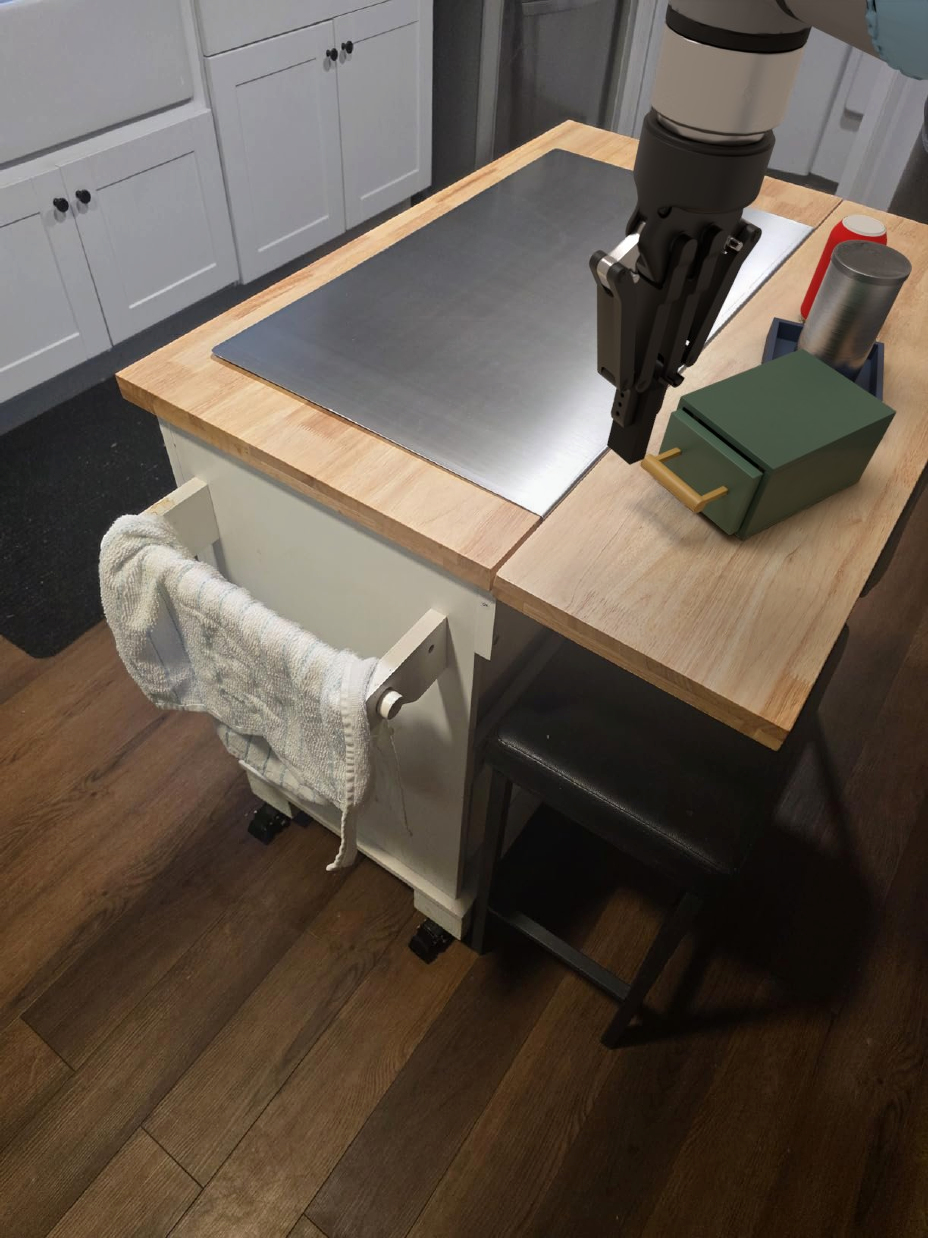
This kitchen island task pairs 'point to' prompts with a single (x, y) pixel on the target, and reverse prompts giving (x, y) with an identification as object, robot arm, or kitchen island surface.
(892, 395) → the kitchen island surface
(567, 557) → the kitchen island surface
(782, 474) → the cabinet
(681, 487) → the drawer
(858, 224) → the beverage can
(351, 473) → the kitchen island surface
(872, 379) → the tray
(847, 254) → the silver tall cylinder
